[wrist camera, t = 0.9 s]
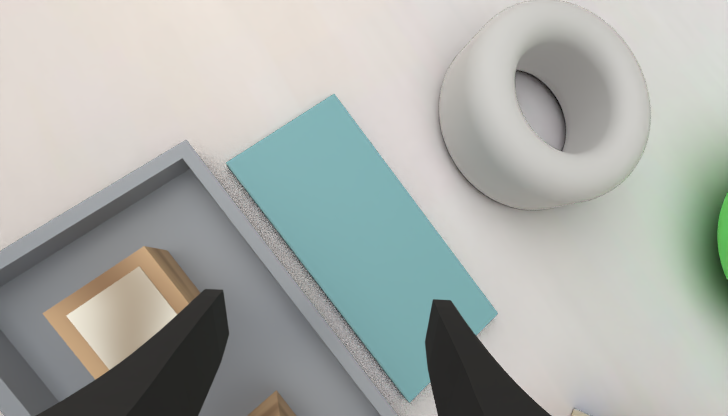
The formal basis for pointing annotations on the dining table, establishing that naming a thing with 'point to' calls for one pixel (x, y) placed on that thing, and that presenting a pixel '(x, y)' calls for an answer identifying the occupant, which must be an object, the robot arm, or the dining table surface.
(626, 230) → the dining table surface
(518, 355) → the dining table surface
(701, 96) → the dining table surface
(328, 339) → the tray
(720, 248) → the toy bird
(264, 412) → the plain box
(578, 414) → the stack of blocks
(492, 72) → the fat ring
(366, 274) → the teal board
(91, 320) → the labelled box
